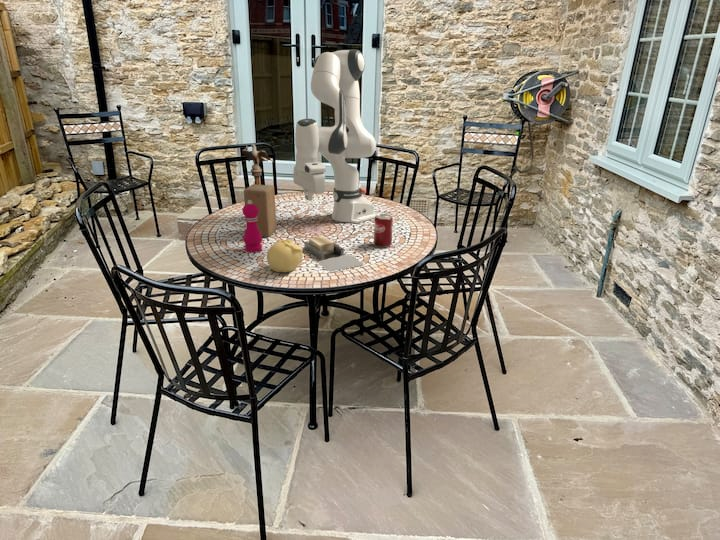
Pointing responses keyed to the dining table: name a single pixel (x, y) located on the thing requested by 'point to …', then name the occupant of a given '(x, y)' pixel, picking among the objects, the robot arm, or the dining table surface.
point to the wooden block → (263, 207)
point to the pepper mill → (251, 228)
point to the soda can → (383, 230)
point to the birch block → (322, 244)
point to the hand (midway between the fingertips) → (308, 199)
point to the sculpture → (284, 256)
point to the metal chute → (337, 252)
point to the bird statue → (256, 161)
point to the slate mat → (340, 263)
